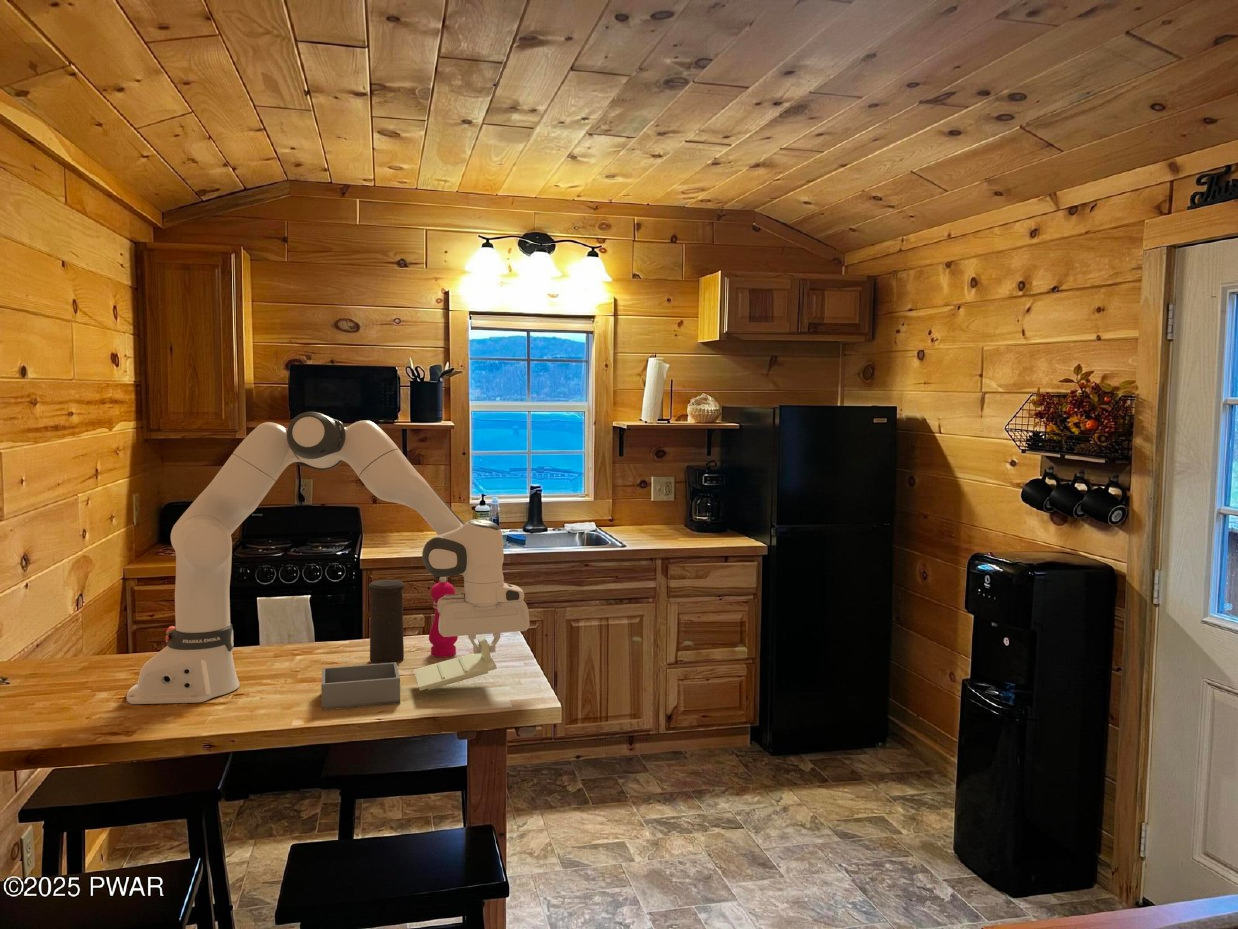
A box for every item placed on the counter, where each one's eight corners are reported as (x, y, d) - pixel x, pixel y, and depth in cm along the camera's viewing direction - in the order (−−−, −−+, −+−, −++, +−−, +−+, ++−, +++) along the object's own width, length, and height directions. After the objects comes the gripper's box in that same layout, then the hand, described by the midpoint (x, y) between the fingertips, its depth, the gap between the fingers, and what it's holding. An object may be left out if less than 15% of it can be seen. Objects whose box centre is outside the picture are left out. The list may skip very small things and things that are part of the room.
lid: (420, 695, 198) (414, 668, 198) (415, 677, 211) (409, 651, 210) (497, 673, 203) (492, 646, 202) (488, 656, 215) (482, 631, 215)
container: (410, 655, 233) (409, 577, 231) (398, 666, 224) (397, 585, 222) (376, 654, 234) (375, 576, 232) (363, 665, 225) (362, 584, 223)
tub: (321, 710, 193) (321, 684, 193) (322, 692, 204) (322, 668, 204) (400, 703, 198) (400, 678, 197) (396, 686, 209) (396, 662, 209)
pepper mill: (435, 659, 230) (434, 580, 228) (424, 652, 236) (424, 575, 234) (462, 655, 234) (461, 577, 232) (451, 648, 240) (451, 572, 238)
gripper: (438, 598, 201) (439, 660, 202) (531, 592, 207) (531, 652, 208) (435, 592, 207) (436, 652, 208) (525, 586, 213) (525, 645, 214)
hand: (484, 652), depth 208 cm, fingers closed on lid
